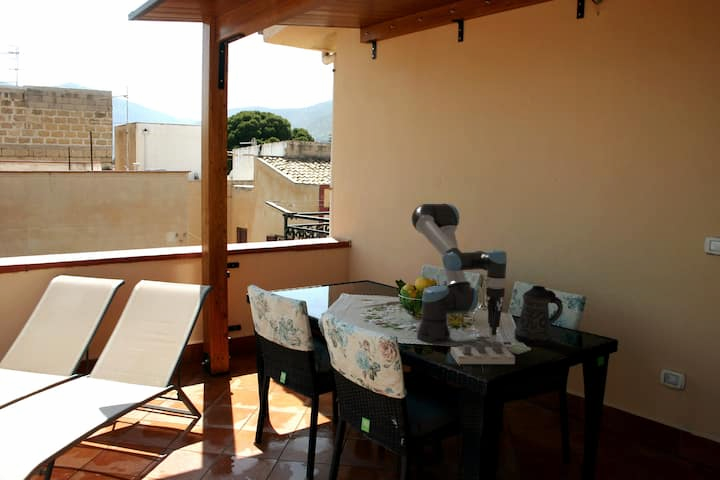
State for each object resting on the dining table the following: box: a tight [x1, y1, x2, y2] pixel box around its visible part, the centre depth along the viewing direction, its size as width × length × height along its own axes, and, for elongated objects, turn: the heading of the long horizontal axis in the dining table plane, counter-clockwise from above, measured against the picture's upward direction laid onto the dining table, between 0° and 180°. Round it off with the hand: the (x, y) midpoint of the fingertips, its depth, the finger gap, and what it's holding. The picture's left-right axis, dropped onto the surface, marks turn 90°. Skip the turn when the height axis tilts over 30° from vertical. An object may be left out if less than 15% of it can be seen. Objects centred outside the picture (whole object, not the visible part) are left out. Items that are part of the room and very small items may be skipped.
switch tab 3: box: [492, 341, 502, 353], centre depth 246 cm, size 4×3×4 cm
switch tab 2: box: [475, 340, 486, 353], centre depth 245 cm, size 4×3×4 cm
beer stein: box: [514, 285, 564, 346], centre depth 271 cm, size 16×19×25 cm
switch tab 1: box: [462, 344, 473, 356], centre depth 240 cm, size 4×3×4 cm
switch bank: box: [450, 346, 516, 365], centre depth 243 cm, size 13×23×3 cm, turn 95°
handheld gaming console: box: [490, 339, 532, 355], centre depth 259 cm, size 10×2×15 cm
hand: (492, 341), depth 252 cm, fingers closed
